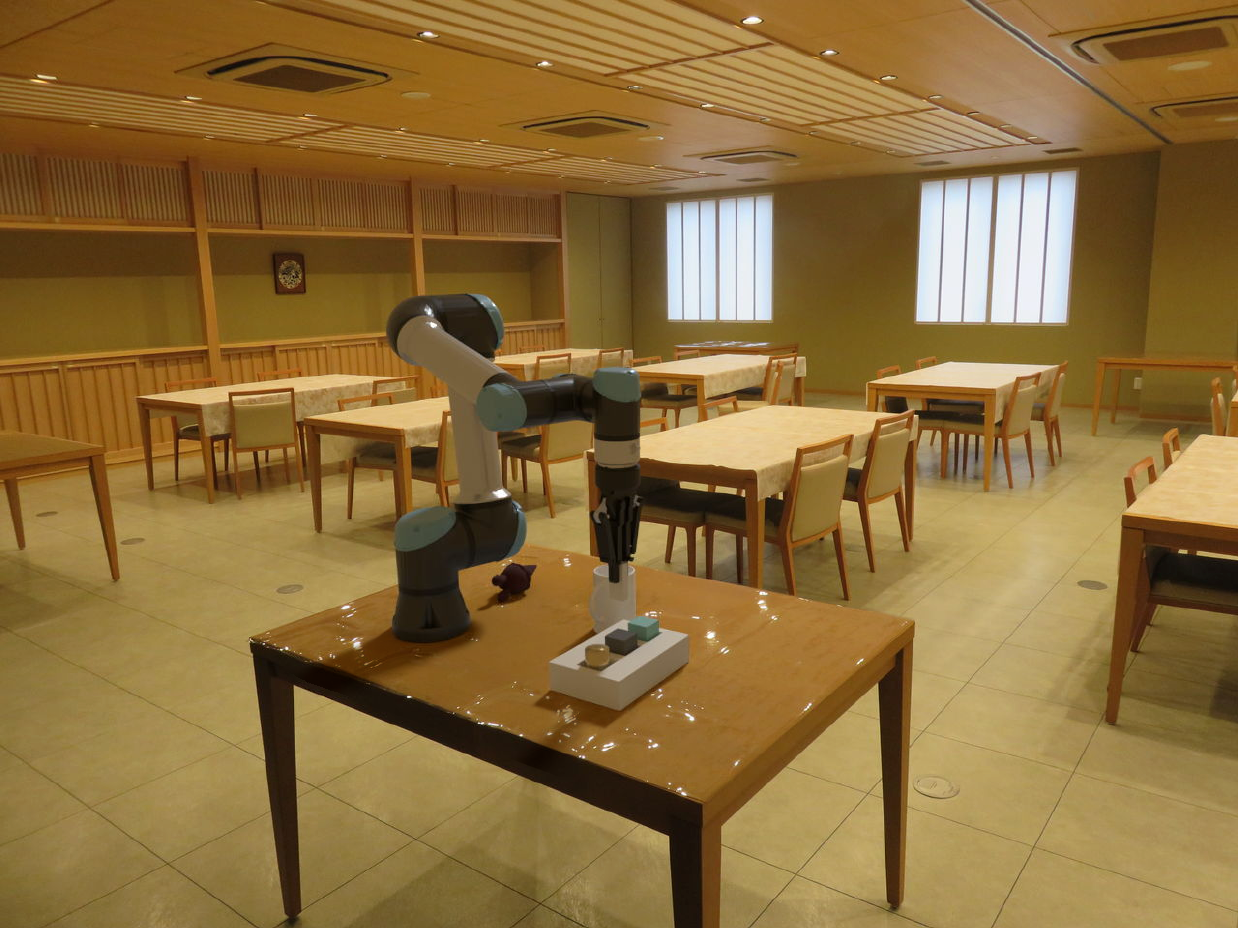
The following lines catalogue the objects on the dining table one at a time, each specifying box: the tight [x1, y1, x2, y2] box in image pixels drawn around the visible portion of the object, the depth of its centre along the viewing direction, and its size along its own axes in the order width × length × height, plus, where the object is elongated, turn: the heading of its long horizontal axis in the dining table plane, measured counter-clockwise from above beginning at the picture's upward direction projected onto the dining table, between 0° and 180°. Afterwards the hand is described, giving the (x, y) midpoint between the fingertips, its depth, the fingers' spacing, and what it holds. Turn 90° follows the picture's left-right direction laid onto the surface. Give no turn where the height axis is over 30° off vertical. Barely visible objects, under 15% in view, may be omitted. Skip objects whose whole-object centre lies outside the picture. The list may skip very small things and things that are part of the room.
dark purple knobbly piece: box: [491, 562, 538, 603], centre depth 197 cm, size 7×7×15 cm
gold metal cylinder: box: [585, 644, 610, 671], centre depth 149 cm, size 4×4×4 cm
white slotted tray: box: [548, 619, 690, 712], centre depth 155 cm, size 14×22×5 cm, turn 146°
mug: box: [588, 563, 637, 635], centre depth 174 cm, size 12×8×12 cm
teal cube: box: [628, 615, 660, 642], centre depth 160 cm, size 4×4×4 cm
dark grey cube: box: [605, 629, 638, 656], centre depth 154 cm, size 4×4×4 cm
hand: (618, 598), depth 153 cm, fingers closed
